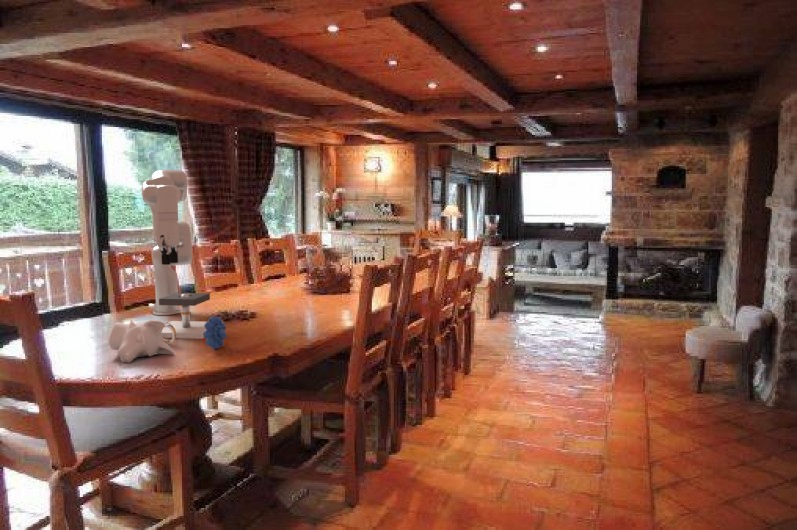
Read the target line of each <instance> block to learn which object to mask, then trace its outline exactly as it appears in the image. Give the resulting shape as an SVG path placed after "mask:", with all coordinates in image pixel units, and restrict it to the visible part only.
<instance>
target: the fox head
mask: <svg viewBox="0 0 797 530" xmlns="http://www.w3.org/2000/svg"><path fill="white" fill-rule="evenodd" d="M165 323H166V322H164V321H161V320H158V319H148V320H146V321H140V322H134V321H133V320H132V318H131V320H130V322H129V323H124V322H115V323H114V324H113V326H112V328H111V331H110V334H109V338H108V344H109V347H110V349H112V350H115V351H117V356H118V357H119V358H120V360H121V362H123V363H130V364H131V362H132V361H133V360H134V359H136V358H141V357H147V356H148V357H152V356H154V355H155V354H158V355H159V354H160V355H175V354H176V353H175V352H174V350H173V349H172V348H171V346H170V345H169V344H168V345H167V344H166V343H165V342H164V341H163V339H164V338H163V336H162V332H161V331H162V330H163V328H164V327H165Z"/></svg>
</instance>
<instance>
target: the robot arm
mask: <svg viewBox="0 0 797 530" xmlns="http://www.w3.org/2000/svg"><path fill="white" fill-rule="evenodd" d="M188 183H189V182H188V177H187V175H186V173H185V172H184V171H182V170H179V169H178V170H176V169H175V170H173V169H172V170H171V169H160V170H156V171H155V172H154V173H152V175H151V179H147V180H145V181H144V182H143V183H142V186H141V196H142V200H143V202H144V203H145V204H147V205H148V206H149V208H150V211H151V213H152V229H153V237H154V240H155V241H156V246H154V247H153V248H152V249H151V260H152V265H153V271H154V272H153V273H154V290H155V303H148V309H153V310H152V314H153V315H154V316H170V315H177V314H181V312H182V308H179V306H177V305H159V299H160V298H163V297H166V296H168V295H171V294H174V293H179V292H178V291H179V289H178V275H177V273H176V271H175V270H174V269H173V268H172V266H185V265H187V266H189V265H190V264H191V263H192V262H193V255H194V254H193V244H192V233H191V232H192V230H191V227H190V224H189V223H187V222H186V221H179V203H180V202H184V201H185V200H186V199H187V196H188V195H187V194H188V188H189V187H188V185H189V184H188Z"/></svg>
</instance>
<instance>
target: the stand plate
mask: <svg viewBox="0 0 797 530" xmlns="http://www.w3.org/2000/svg"><path fill="white" fill-rule="evenodd" d="M206 322H207V321H199V320H196V321H191V320H190V327H188V328H183V327H182V320H171V321H168V324H169V323H170V324H171V325H172V326H173V327H174V328H175V330H176V338H175V339H199V340H200V339H204V338H205V337H204V335H203V333H204V331H206V328H205V327H204V325H205V323H206ZM222 323H224V321H222ZM162 336H163V339H167V338H168V339H172V338H173V334H172V331H171V329H170V328H168V327H164V328H163V330H162ZM205 339H206V338H205Z"/></svg>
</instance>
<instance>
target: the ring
mask: <svg viewBox="0 0 797 530" xmlns="http://www.w3.org/2000/svg"><path fill="white" fill-rule="evenodd" d="M164 323H165V327H168V328H170V329H171V331H172V334H173V338H171V340H170V341H169V340H165V338H163V341H164V342H165V343H166V344H167V345H168V346H169V345H170V344H173V343H174V341H175V340H176V339H177V338H176V330H175V328H174V327H173V326H172V325H171V324H170V323H169V321H168V322H164ZM168 323H169V324H168ZM161 332H162V331H161Z"/></svg>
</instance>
